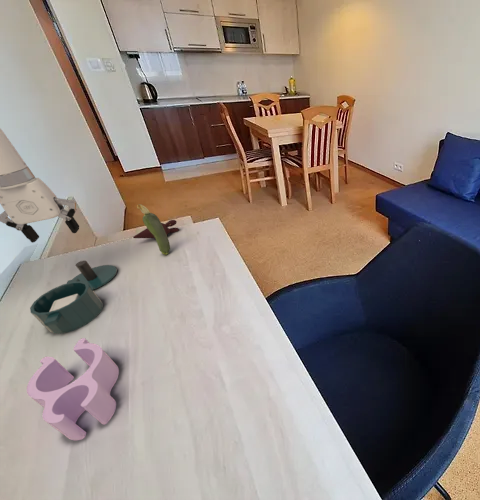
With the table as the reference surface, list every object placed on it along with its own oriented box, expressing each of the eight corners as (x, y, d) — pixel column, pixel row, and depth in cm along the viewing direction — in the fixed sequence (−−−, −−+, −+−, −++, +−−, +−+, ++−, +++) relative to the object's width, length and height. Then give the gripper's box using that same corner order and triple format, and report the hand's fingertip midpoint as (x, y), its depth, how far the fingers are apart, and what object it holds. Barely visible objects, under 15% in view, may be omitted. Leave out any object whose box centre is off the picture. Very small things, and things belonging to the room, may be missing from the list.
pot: (37, 349, 75) (15, 329, 71) (62, 303, 89) (45, 284, 84) (94, 331, 78) (77, 311, 74) (110, 289, 92) (96, 270, 88)
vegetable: (173, 249, 108) (147, 198, 97) (177, 253, 106) (151, 202, 94) (160, 254, 106) (132, 203, 94) (164, 259, 103) (136, 207, 92)
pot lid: (62, 300, 90) (46, 282, 86) (76, 275, 100) (62, 258, 96) (113, 286, 93) (100, 268, 89) (121, 263, 104) (110, 246, 100)
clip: (131, 408, 60) (113, 389, 56) (54, 458, 54) (27, 440, 50) (112, 349, 73) (96, 331, 69) (48, 384, 66) (26, 366, 62)
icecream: (132, 236, 105) (178, 223, 113) (127, 224, 109) (172, 213, 117) (138, 250, 110) (182, 237, 118) (134, 238, 114) (177, 226, 122)
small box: (64, 313, 84) (53, 300, 82) (88, 305, 86) (78, 292, 83) (59, 326, 80) (47, 314, 77) (84, 318, 82) (73, 305, 79)
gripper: (-40, 190, 71) (12, 250, 80) (48, 175, 75) (87, 233, 85) (-22, 180, 76) (25, 237, 86) (59, 166, 81) (95, 222, 91)
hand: (56, 235), depth 86 cm, fingers open, 9 cm apart
